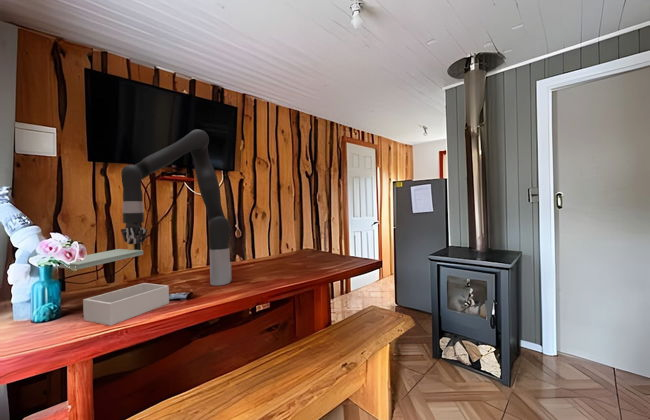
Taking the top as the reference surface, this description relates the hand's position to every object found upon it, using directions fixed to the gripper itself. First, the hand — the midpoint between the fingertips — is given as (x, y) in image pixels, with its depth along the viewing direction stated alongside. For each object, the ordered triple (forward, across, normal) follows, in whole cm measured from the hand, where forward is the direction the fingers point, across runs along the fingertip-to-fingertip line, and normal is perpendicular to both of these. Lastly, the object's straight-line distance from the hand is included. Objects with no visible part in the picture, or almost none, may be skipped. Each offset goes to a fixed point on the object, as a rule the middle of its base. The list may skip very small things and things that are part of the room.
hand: (134, 251), depth 118 cm
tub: (+19, -16, +13) cm, 28 cm away
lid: (+1, 0, +11) cm, 11 cm away
